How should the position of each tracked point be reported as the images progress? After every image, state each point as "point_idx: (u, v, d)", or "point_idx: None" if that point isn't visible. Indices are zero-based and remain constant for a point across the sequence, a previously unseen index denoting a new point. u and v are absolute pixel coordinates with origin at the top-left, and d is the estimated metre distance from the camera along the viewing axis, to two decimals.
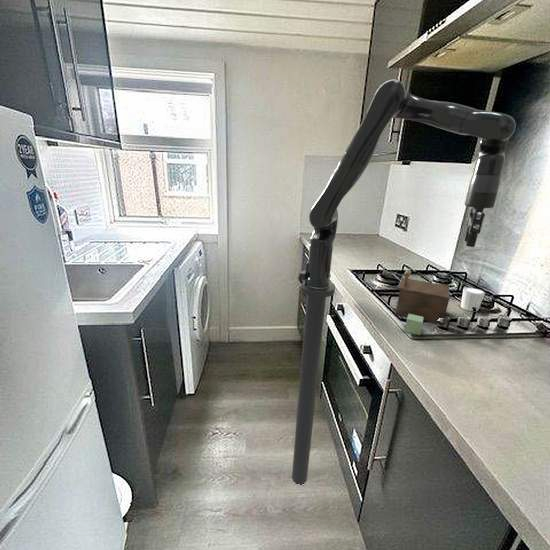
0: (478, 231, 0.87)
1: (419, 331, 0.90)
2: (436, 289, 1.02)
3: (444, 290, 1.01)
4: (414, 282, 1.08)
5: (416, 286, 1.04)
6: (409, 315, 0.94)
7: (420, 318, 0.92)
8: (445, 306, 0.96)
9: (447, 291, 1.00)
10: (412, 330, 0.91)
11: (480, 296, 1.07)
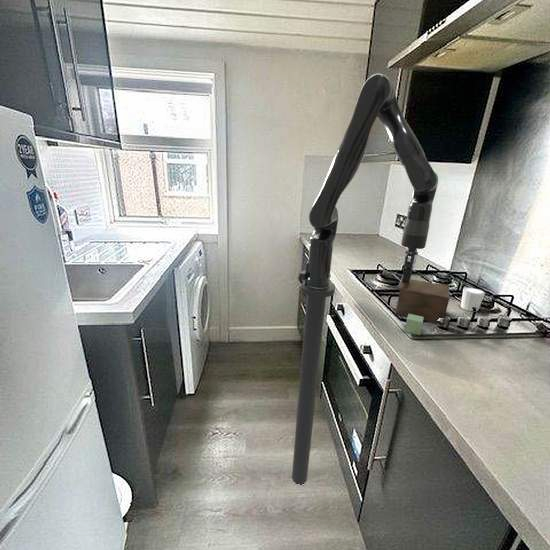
0: (409, 271, 0.99)
1: (419, 331, 0.90)
2: (436, 289, 1.02)
3: (444, 290, 1.01)
4: (414, 282, 1.08)
5: (416, 286, 1.04)
6: (409, 315, 0.94)
7: (420, 318, 0.92)
8: (445, 306, 0.96)
9: (447, 291, 1.00)
10: (412, 330, 0.91)
11: (480, 296, 1.07)
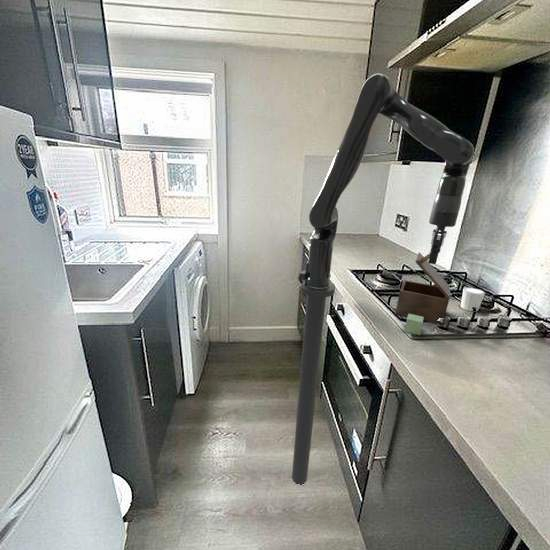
0: (438, 251, 0.94)
1: (419, 331, 0.90)
2: (442, 283, 1.00)
3: (447, 288, 1.00)
4: (428, 264, 1.04)
5: (429, 269, 1.00)
6: (409, 315, 0.94)
7: (420, 318, 0.92)
8: (445, 306, 0.96)
9: (449, 291, 1.00)
10: (412, 330, 0.91)
11: (480, 296, 1.07)
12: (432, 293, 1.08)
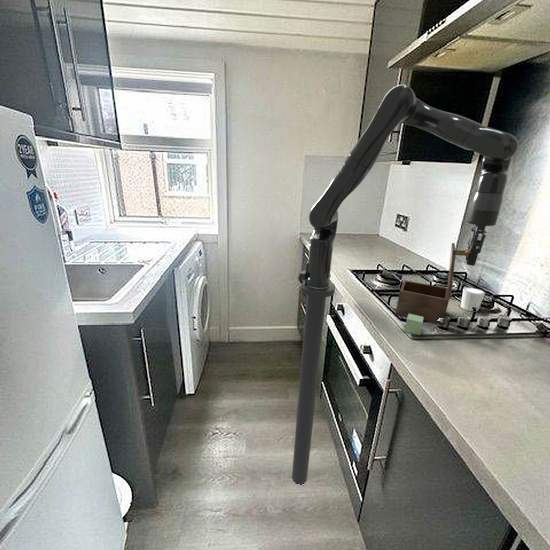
0: (478, 251, 0.89)
1: (419, 331, 0.90)
2: None
3: None
4: None
5: None
6: (409, 315, 0.94)
7: (420, 318, 0.92)
8: (445, 306, 0.96)
9: None
10: (412, 330, 0.91)
11: (480, 296, 1.07)
12: (432, 293, 1.08)
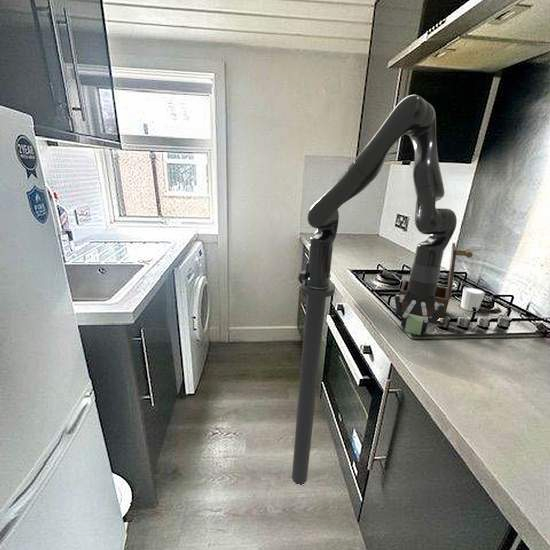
0: None
1: (419, 331, 0.90)
2: None
3: None
4: None
5: None
6: (409, 315, 0.94)
7: (420, 318, 0.92)
8: (445, 306, 0.96)
9: None
10: (412, 330, 0.91)
11: (480, 296, 1.07)
12: None
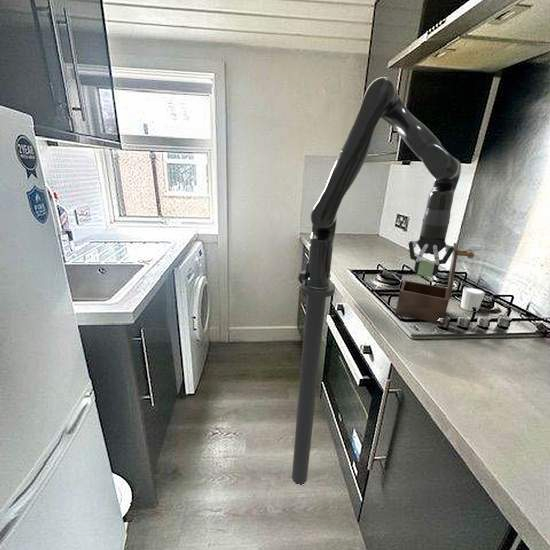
0: None
1: (431, 272, 0.99)
2: None
3: None
4: None
5: None
6: (421, 260, 1.03)
7: (432, 261, 1.01)
8: (445, 306, 0.96)
9: None
10: (424, 273, 1.00)
11: (480, 296, 1.07)
12: (432, 293, 1.08)
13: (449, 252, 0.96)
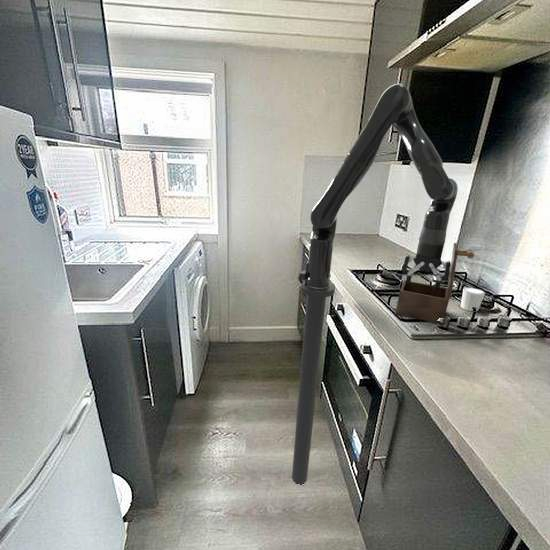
0: None
1: None
2: None
3: None
4: None
5: None
6: None
7: None
8: (445, 306, 0.96)
9: None
10: None
11: (480, 296, 1.07)
12: (432, 293, 1.08)
13: (447, 268, 0.98)
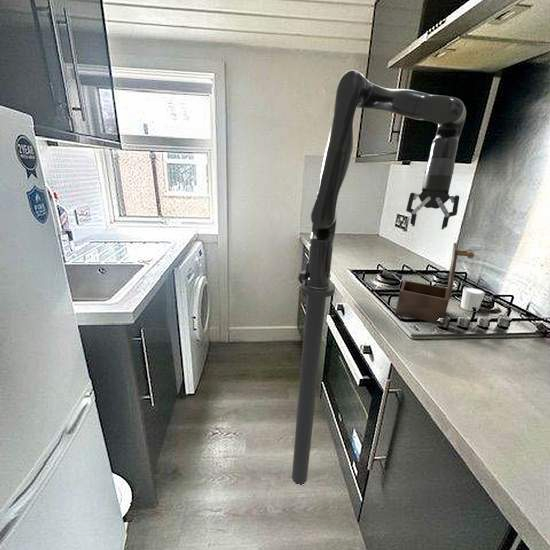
0: None
1: None
2: None
3: None
4: None
5: None
6: None
7: None
8: (445, 306, 0.96)
9: None
10: None
11: (480, 296, 1.07)
12: (432, 293, 1.08)
13: (456, 201, 0.90)
